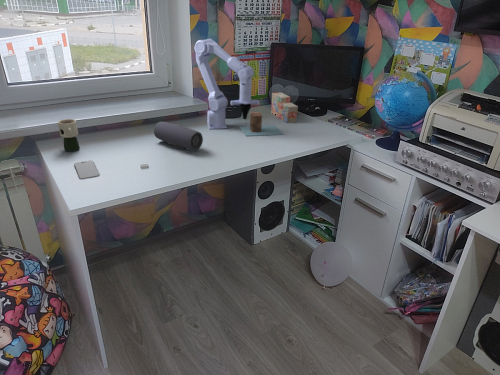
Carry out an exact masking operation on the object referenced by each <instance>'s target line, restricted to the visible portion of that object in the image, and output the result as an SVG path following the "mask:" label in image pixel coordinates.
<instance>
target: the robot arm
mask: <svg viewBox="0 0 500 375" xmlns="http://www.w3.org/2000/svg"><path fill="white" fill-rule="evenodd" d="M193 49H194V51H195V61H196V64H197V66H198V70H199V72H200V73H201V74H200V75H201V76H202V79H203V82H204V85H205V86H206V89H207V91H208V94H209V95H208V97H207V100H208V106H209V109H210V110H207V112H206V114H207V115H206V116H207V119H206V120H207V123H206V124H207V127H208V129H209V130H216V129H228V127H227V125H226V108H227V106H228V104H229V101H228V99H227V97H226V96H225V95H224V93H223V91H221V90H220V89H219V86H218V84H217V81H216V79H215V76H214V73H213V71H212V68H211V66H210V63H209V58H210V56H211V55H212V54H214V55H215V56H217V57H219V58H220V59H221V60H222V61H224V62H225V63H226V64H227V67H228V68H229V69H230V70H232V71H233V72H235V73H236V74H237V77H238V78H239V99H236V100H230V105H231V106H239V109H240V111H241V114H242V119H243V120H247V117H248V115H249V112H250V110H251V108H252V105H258V106H259V105H260V100H259V99H252V82H253V80H252V79H253V78H252V77H253V76H254V75H255V71H254V70H255V69H254V68H253V67H252V66H251V65H247V64H246V63H244V62H242V61H241V60H240V58H239V57H238V56H231V55H230V54H229V53H228V52H227V51H225V50H224V49H223V48H222V47H221V46H220V45H219V44H218V42H216V41H215V40H213V39H212V38H207V39H199V40H197V41H196V43H195V44H194V48H193Z"/></svg>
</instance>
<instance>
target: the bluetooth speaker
mask: <svg viewBox="0 0 500 375" xmlns="http://www.w3.org/2000/svg"><path fill="white" fill-rule="evenodd" d="M153 134H154V137H155V138H156V139H158V140H159V141H162V142H165V143H167V144H169V146H172V147H175V148H177V149H180V150H192V151H197V150H199V149H200V148H201V147H202V145H203V142H204V138H203V134H202V133H201V132H200V131H198V130H195V129H192V128H189V127H187V126H183V125H179V124H176V123H172V122H167V121H159V122H157V123H156V124H155V126H154V130H153Z"/></svg>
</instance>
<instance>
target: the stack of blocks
mask: <svg viewBox="0 0 500 375" xmlns="http://www.w3.org/2000/svg"><path fill="white" fill-rule="evenodd" d="M291 100H292V97H291V96H289V95H287V94H286V93H283V92H271V108H270V113H271V114H272V113H273V114H272V115H274V116H275V114H276V116H275V117H277V118H278V119H279V120H280V119H281V120H282V121H283V122H285V123H289V124H290V123H296V122H297V117H298V111H299V110H298V108H299V106H298V105H296V104H294V103H293V102H291Z"/></svg>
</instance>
